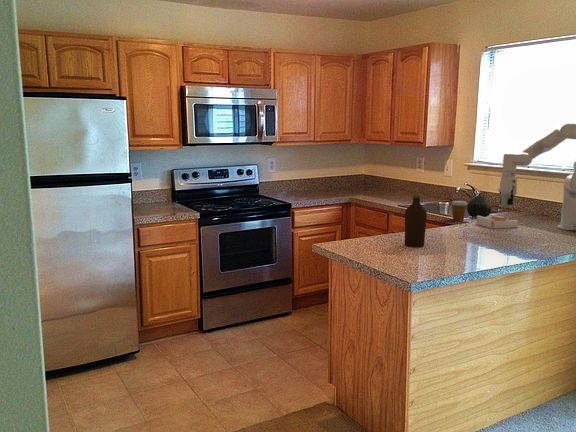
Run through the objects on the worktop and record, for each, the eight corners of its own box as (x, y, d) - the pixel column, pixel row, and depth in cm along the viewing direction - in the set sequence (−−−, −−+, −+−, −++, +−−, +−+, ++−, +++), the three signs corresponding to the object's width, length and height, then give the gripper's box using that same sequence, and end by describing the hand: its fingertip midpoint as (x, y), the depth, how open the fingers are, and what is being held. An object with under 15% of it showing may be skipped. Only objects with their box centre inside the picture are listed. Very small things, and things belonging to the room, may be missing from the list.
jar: (514, 207, 304) (515, 192, 303) (504, 208, 303) (506, 193, 301) (507, 206, 311) (508, 191, 309) (498, 206, 309) (499, 191, 307)
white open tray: (517, 227, 302) (517, 218, 301) (492, 228, 298) (492, 220, 297) (500, 222, 316) (501, 214, 316) (476, 223, 312) (476, 215, 312)
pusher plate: (506, 226, 302) (506, 218, 301) (503, 227, 301) (504, 218, 300) (492, 223, 313) (493, 215, 313) (490, 223, 313) (491, 215, 312)
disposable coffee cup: (449, 220, 323) (450, 201, 321) (451, 218, 332) (452, 200, 330) (464, 221, 319) (465, 202, 317) (467, 219, 327) (468, 201, 325)
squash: (480, 211, 325) (489, 193, 329) (460, 209, 337) (469, 191, 341) (489, 224, 332) (498, 206, 337) (469, 222, 344) (478, 204, 349)
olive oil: (418, 248, 246) (421, 197, 242) (399, 245, 253) (401, 195, 249) (429, 245, 253) (431, 195, 249) (410, 241, 260) (412, 193, 256)
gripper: (524, 175, 296) (521, 205, 299) (505, 172, 312) (502, 201, 316) (513, 175, 294) (510, 206, 297) (494, 172, 311) (491, 202, 314)
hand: (506, 203), depth 306 cm, fingers closed on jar, 6 cm apart
